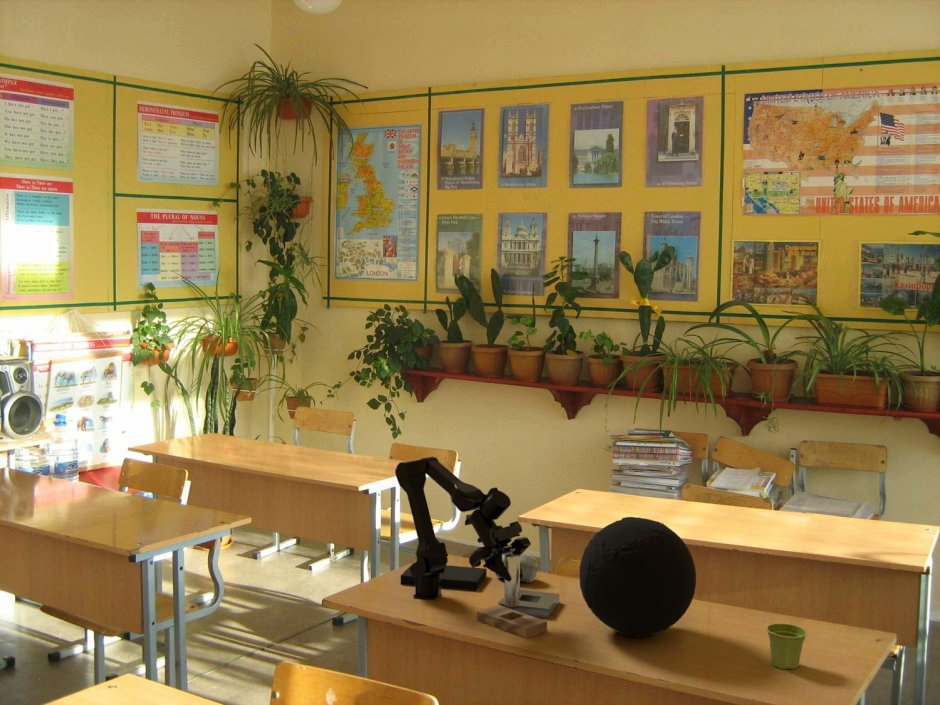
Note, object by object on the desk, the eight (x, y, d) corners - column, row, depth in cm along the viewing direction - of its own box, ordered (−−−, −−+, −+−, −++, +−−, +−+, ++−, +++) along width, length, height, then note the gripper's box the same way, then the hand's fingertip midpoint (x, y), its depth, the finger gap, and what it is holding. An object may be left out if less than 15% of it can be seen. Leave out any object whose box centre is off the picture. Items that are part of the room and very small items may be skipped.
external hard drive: (413, 571, 318) (413, 562, 318) (486, 577, 313) (486, 568, 313) (400, 585, 305) (400, 575, 304) (476, 591, 300) (476, 581, 299)
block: (498, 612, 280) (498, 603, 280) (511, 597, 294) (511, 588, 294) (548, 617, 276) (548, 608, 276) (559, 602, 290) (559, 593, 290)
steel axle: (502, 605, 268) (503, 557, 267) (506, 601, 272) (507, 553, 271) (517, 607, 267) (518, 558, 266) (520, 603, 271) (521, 554, 270)
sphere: (697, 621, 276) (701, 511, 274) (690, 660, 247) (694, 538, 245) (588, 609, 284) (590, 502, 282) (569, 646, 255) (572, 527, 253)
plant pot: (812, 665, 246) (813, 629, 245) (795, 676, 239) (796, 639, 238) (775, 654, 252) (776, 620, 251) (757, 665, 245) (759, 629, 244)
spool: (484, 569, 310) (499, 539, 311) (496, 576, 317) (511, 547, 319) (520, 588, 302) (535, 558, 304) (532, 595, 310) (547, 565, 312)
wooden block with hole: (476, 620, 274) (476, 610, 274) (497, 613, 279) (497, 604, 279) (525, 637, 261) (526, 628, 261) (546, 630, 266) (547, 621, 266)
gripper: (477, 517, 264) (507, 569, 257) (526, 507, 277) (556, 556, 270) (455, 541, 271) (484, 592, 263) (505, 530, 283) (533, 578, 276)
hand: (515, 579), depth 268 cm, fingers closed on steel axle, 4 cm apart
